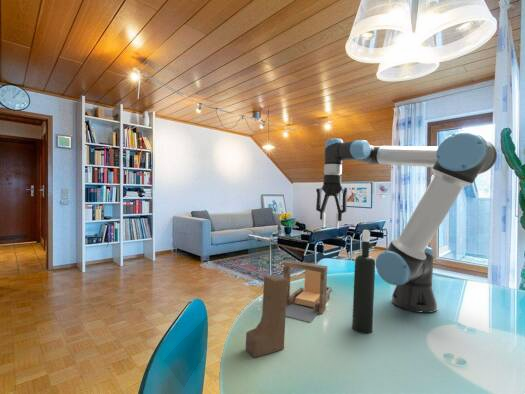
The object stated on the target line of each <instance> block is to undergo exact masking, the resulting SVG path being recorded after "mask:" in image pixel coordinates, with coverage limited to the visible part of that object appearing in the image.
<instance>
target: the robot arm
mask: <svg viewBox="0 0 525 394" xmlns="http://www.w3.org/2000/svg"><path fill="white" fill-rule="evenodd" d="M324 146H325V147H324V165H323V166H324V167H323V174H324V175H323V183H322V184H323V185H322V187H320V188H315V189H316V207H315V208H316V209H315V211H318V212H319V214H320V215H319V219H320V220H321V228H322V229H323V228H326V215H327V213H326V212H325V210H326V208H327V207H326V206H327V203H328V201H329V198H330V197H334V200H335V204H336V209H337V213H336V215H335V229H336V230H339V228H340V222H341V221H342V217H343V214H344V213H346V212H347V199H348V197H347V196H348V193H349V190H348V189H347V188H346V189H345V188H343V186H342V172H343V161H358V162H362V163H367V164H369V165H395V166H406V167H407V166H408V167H421V168H422V167H423V168H425V167H426V168H432V169H431V170H432V173H433V178H432V179H431V181H430V182H429V184H428V186H427V188H426V190H425V192H424V193H423V195H422V197H421V198H420V200H419V202H418V204H417V206H416V207H415V209H414V211H413V213H412V214H411V217H409V220H408V222H407V223H406V225H405V227H404V228H403V230H402V232H401V234H400V236H399V237H398V238H393V239H391V242H390V243H389V244H388V247H387V249H386V250H384V251H382V252H381V253H379V254H378V255H377V256H376V259H375V270H376V271H377V274H378V276H379V277H380V278H381V279H382V280H383V281H384V282H385V283H387V284H389V285H393V286H395V287H394V290H393V292H392V295H391V302H393V303H394V304H393V303H392V304H393V305H395V304H396V305H397V306H396V305H395V306H396V307H398V306H399V307H398V308H401V307H402V308H401V309H403V308H404V309H403V310H406V309H407V310H406V311H410V310H412V312H415V311H422V312H430V311H434V310H436V309H438V307H437V306H438V304H437V299H436V297H435V295H434V294H435V293H434V291H433V273H434V271H433V270H434V258H435V256H434V249H432V248H431V247H428V246H429V244H430V242H431V241H432V239H433V237H434V236H435V235H436V233H437V231H438V229H439V228H440V227H441V224H442V223H443V221H444V220H445V218H446V217H447V215H448V213H449V212H450V210H451V208H452V207H453V205H454V203H455V202H456V200H457V198H458V197H459V195H460V193H461V192H462V190H463V189H464V188H465V187H468V186H470V185H471V186H472V185H473V183H474V182H475V180H476V178H477V177H478V175H480V174H481V175H482V174H484V173H486V172H488V171H489V170H490V169H492V167H493V166H494V165H495V164H496V162H497V159H498V152H497V149H496V147H495V146H494V144H493V143H491V142H490V141H488V140H487V139H485V138H484V137H483V136H481V135H480V134H477V133H472V132H470V131H469V132H468V131H459V132H456V133H453V134H450V135H448V136H446V137H445V138H444V139H443V140H442V141H441V142H440V143H439V144H438V146H416V145H415V146H412V145H411V146H403V145H402V146H401V145H370V143H369V142H368V140H365V139H357V140H353V141H345V142H344V140H343V139H342V138H337V137H335V138H328V139H327V140H326V141H325V145H324ZM323 192H324V198H323V200H322V193H323ZM340 193H341V194H342V206H341V201H340V196H339V194H340ZM436 311H437V310H436ZM422 312H421V313H422Z"/></svg>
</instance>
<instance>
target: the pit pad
mask: <svg viewBox="0 0 525 394" xmlns="http://www.w3.org/2000/svg"><path fill="white" fill-rule="evenodd" d="M332 290H333V287H330V286H326V293H331V292H333V291H332Z"/></svg>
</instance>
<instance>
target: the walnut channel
mask: <svg viewBox="0 0 525 394" xmlns="http://www.w3.org/2000/svg"><path fill="white" fill-rule="evenodd" d="M291 269H297V270H299V269H300V270H304V271H305V270H311V271H317V272H321V277H320V300H319V301H318V302H317V303H316V304H315V307H314V309H315V312H319V313H318V314H321V315H324V313H325V311H326V309H327V308H326V307H327V306H326V305H327V303H328V302H329V300H330V299H331V298H330V293H331V292H330V293H326V287H328V286H327V283H328V282H327V281H328V280H327V278H328V265H324V264H323V265H322V264H317V263H315V264H314V263H310V262H303V261H302V262H301V261H297V260H296V261H295V260H291V259H290V260H286V261H284V262H283V276H282V277H284V278H286V279H287V293H286V305H288V306H289V305H290V304H294V303H295V298H296V297H297V296H298V295H299V294H301V293H302V292H303V291H304V287H300V288H299V289H297V290H296V291H294V292H293V293H292V294H291V293H290V292H291V291H290V290H291V272H292V270H291Z"/></svg>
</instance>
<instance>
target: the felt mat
mask: <svg viewBox="0 0 525 394" xmlns="http://www.w3.org/2000/svg"><path fill="white" fill-rule="evenodd" d="M318 314H320V313H319V312H315V308H313V307H308V306H307V307H306V306H304V305H302V306H301V305H299V304H294V303H293V304H290V305H289V306H288V305H286V315H285V318H290V319H293V320H297V321H300V322H305V323H308V324H309V323H310V324H311V323H312V321H314V319H315V318H316V317H317V316H318Z"/></svg>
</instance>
